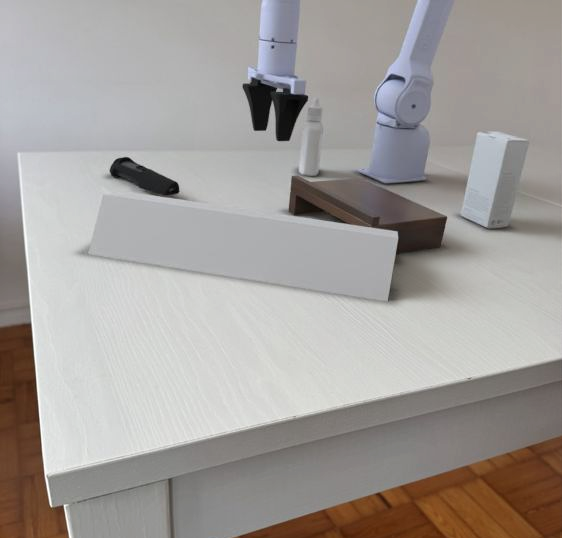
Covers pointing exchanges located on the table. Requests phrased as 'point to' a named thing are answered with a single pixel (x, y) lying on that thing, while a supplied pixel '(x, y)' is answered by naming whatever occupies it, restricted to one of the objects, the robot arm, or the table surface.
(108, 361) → the table surface
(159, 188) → the electric trimmer
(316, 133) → the eye dropper bottle
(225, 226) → the molding piece
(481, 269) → the table surface
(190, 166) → the table surface
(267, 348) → the table surface
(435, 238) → the shelf
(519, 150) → the cosmetic box
